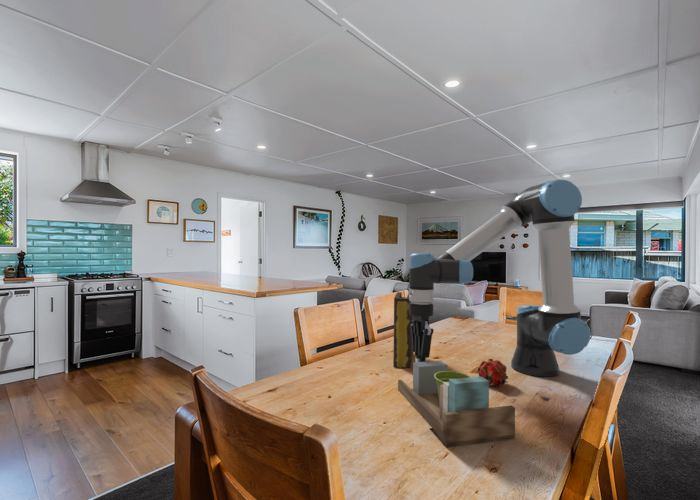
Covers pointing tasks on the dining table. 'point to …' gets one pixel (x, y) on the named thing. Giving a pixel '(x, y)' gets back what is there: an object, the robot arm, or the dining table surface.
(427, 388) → the bookend
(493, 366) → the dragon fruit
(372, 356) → the dining table surface
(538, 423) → the dining table surface
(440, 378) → the plant pot
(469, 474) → the dining table surface
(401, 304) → the book
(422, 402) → the book rack
